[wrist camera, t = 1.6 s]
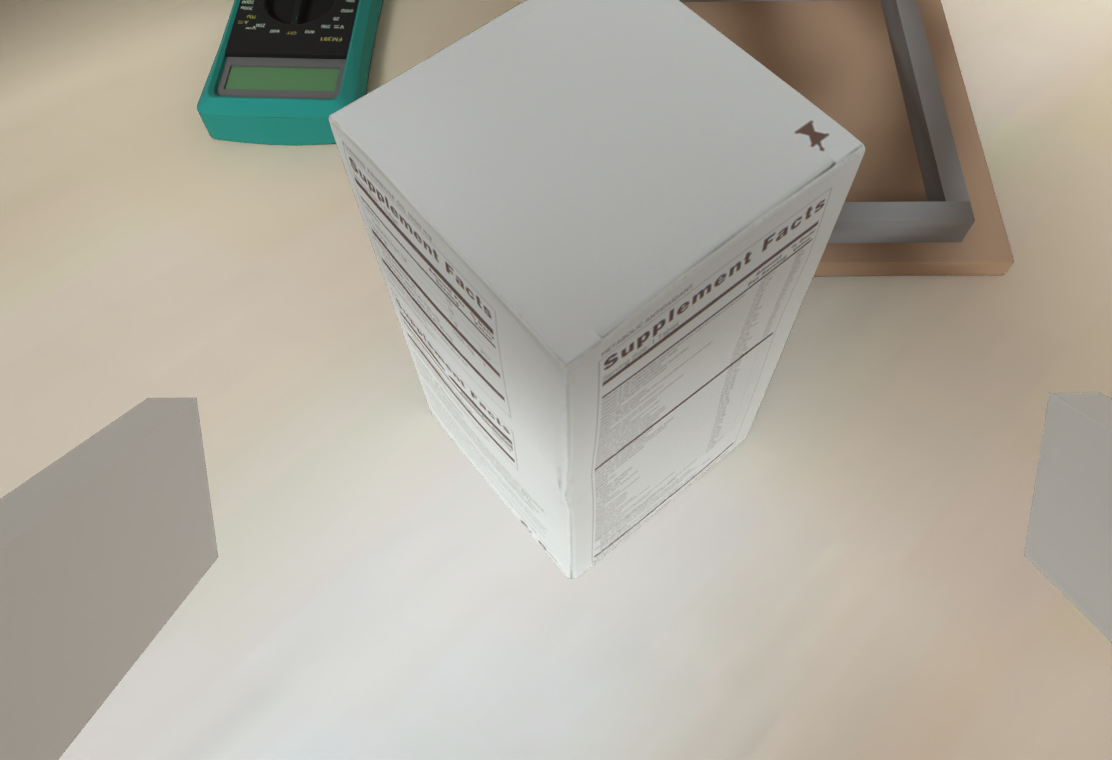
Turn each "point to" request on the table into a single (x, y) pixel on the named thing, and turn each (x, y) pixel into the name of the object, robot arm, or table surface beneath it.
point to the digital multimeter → (288, 69)
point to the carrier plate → (884, 128)
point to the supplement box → (594, 249)
